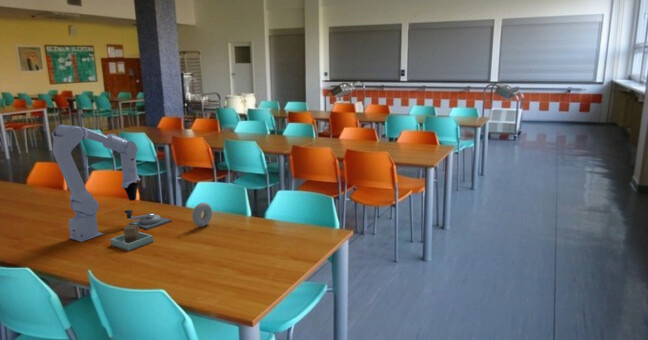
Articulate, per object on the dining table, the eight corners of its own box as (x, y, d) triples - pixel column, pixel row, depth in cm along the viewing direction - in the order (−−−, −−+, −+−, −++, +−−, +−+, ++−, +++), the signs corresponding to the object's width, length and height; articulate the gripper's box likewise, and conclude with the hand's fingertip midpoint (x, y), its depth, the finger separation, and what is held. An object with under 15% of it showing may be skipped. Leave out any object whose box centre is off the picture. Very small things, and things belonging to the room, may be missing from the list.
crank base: (147, 229, 196) (147, 224, 195) (129, 224, 202) (128, 219, 202) (171, 221, 206) (171, 216, 205) (153, 216, 212) (152, 211, 211)
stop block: (136, 243, 179) (135, 228, 178) (125, 244, 179) (123, 228, 178) (139, 239, 183) (137, 224, 182) (128, 240, 183) (126, 225, 181)
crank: (153, 215, 205) (152, 205, 204) (154, 217, 203) (153, 207, 202) (124, 219, 200) (123, 209, 199) (125, 221, 197) (124, 211, 196)
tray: (128, 251, 174) (128, 244, 173) (111, 245, 179) (110, 239, 179) (153, 241, 182) (152, 235, 182) (135, 236, 188) (135, 230, 187)
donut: (197, 230, 194) (196, 206, 192) (191, 229, 196) (189, 205, 194) (214, 223, 203) (213, 200, 201) (208, 221, 205) (206, 199, 202)
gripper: (132, 172, 194) (136, 204, 197) (144, 165, 209) (147, 195, 212) (115, 172, 194) (118, 205, 197) (128, 165, 208) (131, 195, 211)
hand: (132, 200), depth 204 cm, fingers closed
